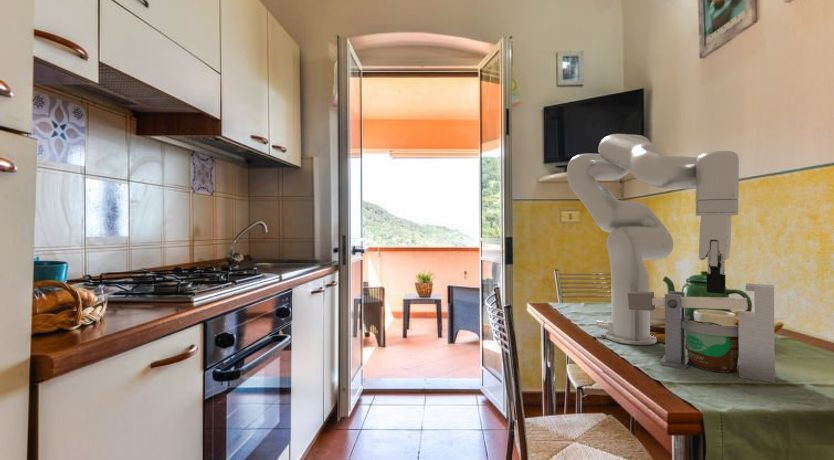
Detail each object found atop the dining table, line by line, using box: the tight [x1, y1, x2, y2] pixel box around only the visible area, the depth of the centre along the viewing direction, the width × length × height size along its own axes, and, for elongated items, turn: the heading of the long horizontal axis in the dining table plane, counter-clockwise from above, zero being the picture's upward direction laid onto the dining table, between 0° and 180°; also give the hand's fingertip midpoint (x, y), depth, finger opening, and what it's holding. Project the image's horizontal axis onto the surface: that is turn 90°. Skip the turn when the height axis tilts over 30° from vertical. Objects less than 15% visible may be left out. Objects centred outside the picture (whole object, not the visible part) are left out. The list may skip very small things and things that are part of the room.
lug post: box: [737, 283, 776, 384], centre depth 84 cm, size 6×5×19 cm
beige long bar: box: [628, 291, 749, 312], centre depth 93 cm, size 22×4×4 cm, turn 49°
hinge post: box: [659, 290, 690, 370], centre depth 94 cm, size 5×8×16 cm, turn 139°
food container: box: [681, 315, 739, 373], centre depth 90 cm, size 12×6×10 cm, turn 21°
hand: (716, 292), depth 89 cm, fingers closed
